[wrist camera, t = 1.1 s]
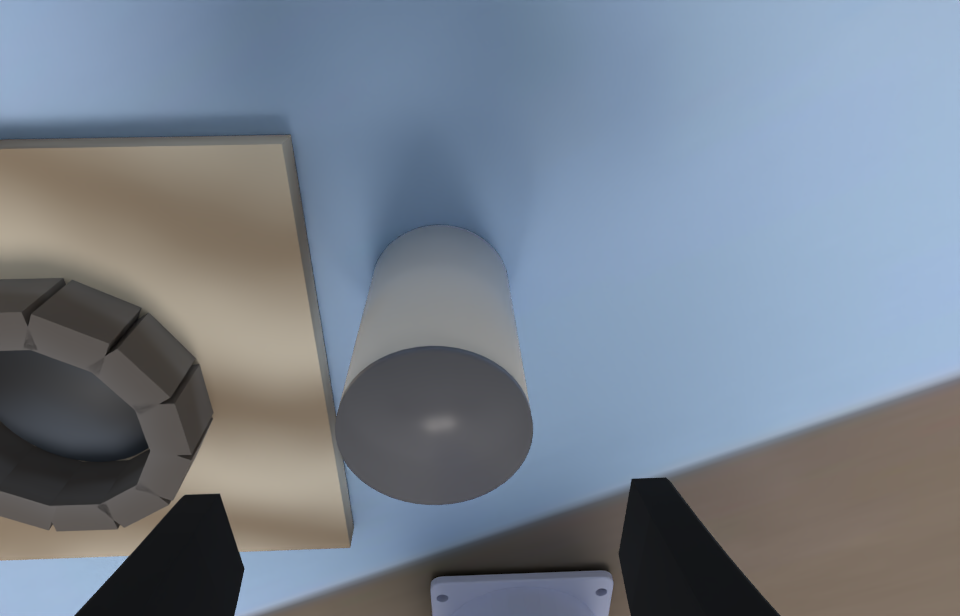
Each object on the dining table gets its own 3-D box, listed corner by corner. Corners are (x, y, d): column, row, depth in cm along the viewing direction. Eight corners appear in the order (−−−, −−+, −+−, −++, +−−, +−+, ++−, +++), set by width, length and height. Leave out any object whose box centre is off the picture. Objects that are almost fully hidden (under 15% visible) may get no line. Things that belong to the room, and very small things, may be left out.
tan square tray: (353, 527, 25) (342, 593, 22) (-45, 541, 24) (-104, 610, 22) (290, 134, 17) (260, 166, 14) (-302, 144, 17) (-444, 178, 14)
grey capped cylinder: (507, 343, 21) (529, 501, 15) (378, 347, 21) (347, 508, 15) (509, 223, 19) (537, 350, 13) (365, 226, 18) (322, 356, 12)
